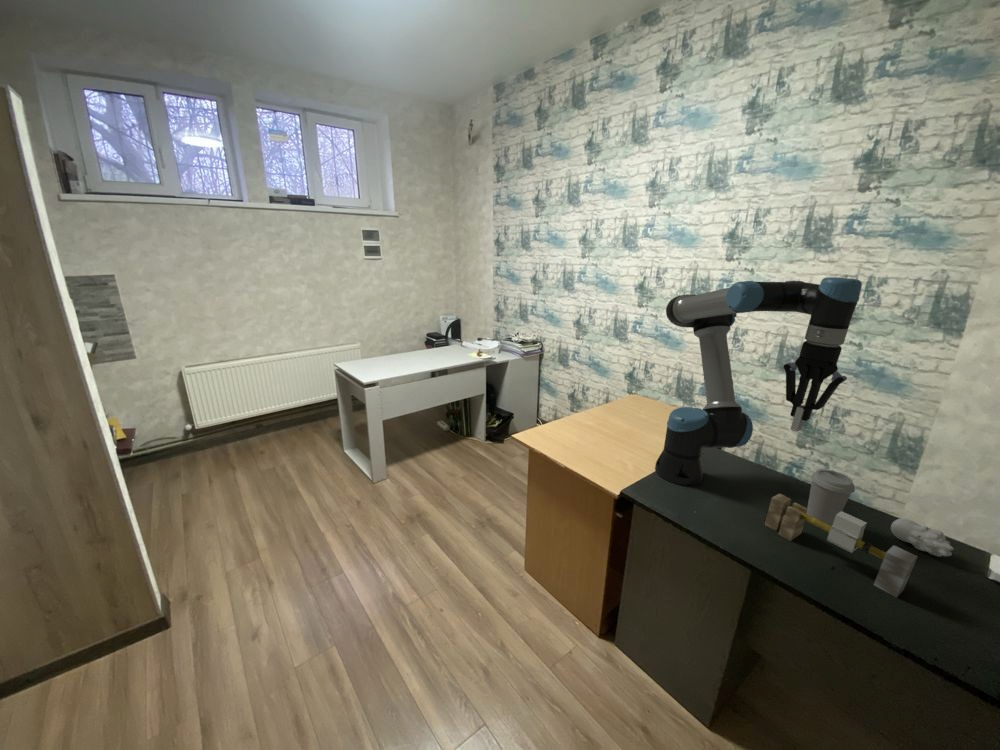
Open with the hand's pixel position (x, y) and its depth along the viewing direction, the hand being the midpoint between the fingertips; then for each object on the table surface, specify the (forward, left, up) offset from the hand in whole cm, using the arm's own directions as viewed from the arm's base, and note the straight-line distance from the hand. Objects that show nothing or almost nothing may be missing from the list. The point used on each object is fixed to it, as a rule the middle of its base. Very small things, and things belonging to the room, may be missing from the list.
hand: (795, 429), depth 102 cm
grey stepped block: (+16, 0, -25) cm, 29 cm away
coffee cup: (+7, +13, -30) cm, 33 cm away
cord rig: (+14, 0, -29) cm, 33 cm away
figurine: (+24, +24, -30) cm, 45 cm away
